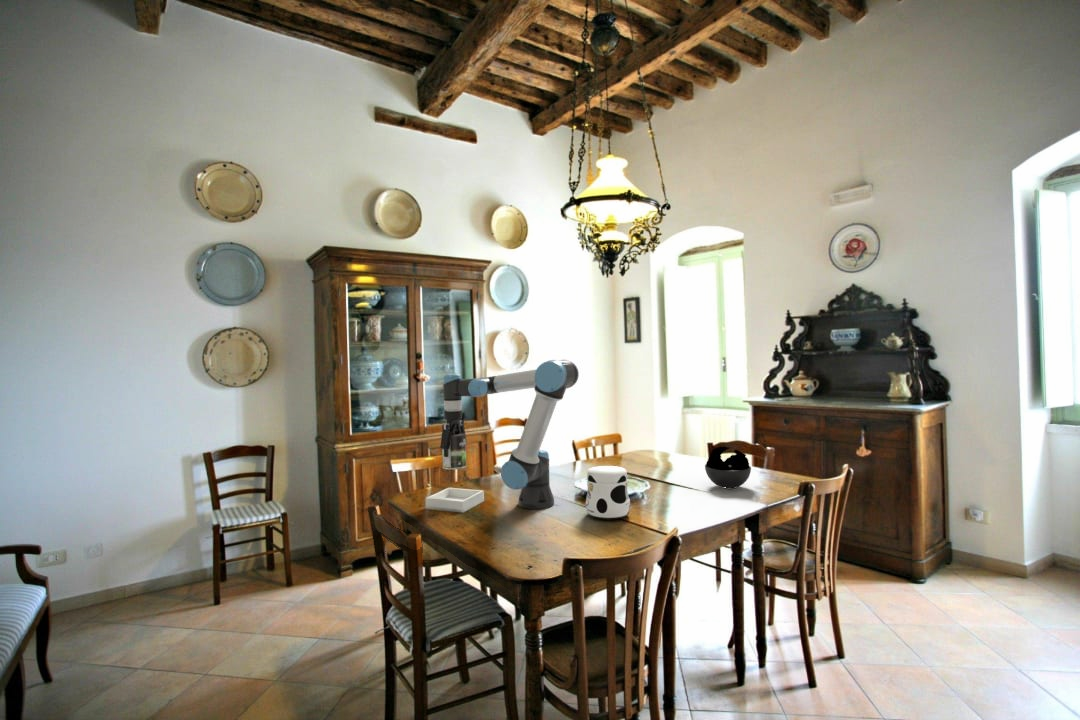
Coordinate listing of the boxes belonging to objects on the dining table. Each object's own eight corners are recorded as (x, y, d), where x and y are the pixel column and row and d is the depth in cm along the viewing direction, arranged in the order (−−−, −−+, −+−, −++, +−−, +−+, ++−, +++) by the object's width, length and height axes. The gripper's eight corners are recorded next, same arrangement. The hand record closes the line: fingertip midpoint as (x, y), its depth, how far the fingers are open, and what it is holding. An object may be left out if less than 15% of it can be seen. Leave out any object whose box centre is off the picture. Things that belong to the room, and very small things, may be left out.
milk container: (578, 513, 214) (577, 468, 214) (615, 507, 221) (614, 463, 221) (599, 525, 199) (598, 477, 198) (639, 518, 205) (638, 471, 205)
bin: (484, 500, 236) (484, 490, 236) (463, 512, 219) (462, 501, 219) (449, 497, 243) (448, 487, 242) (425, 508, 226) (425, 498, 226)
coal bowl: (702, 482, 258) (701, 443, 258) (745, 482, 255) (744, 443, 255) (709, 493, 238) (708, 451, 238) (756, 494, 235) (755, 451, 235)
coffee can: (469, 464, 235) (468, 432, 234) (461, 470, 224) (460, 436, 224) (447, 464, 237) (446, 432, 236) (438, 469, 227) (437, 436, 226)
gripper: (459, 407, 242) (460, 456, 242) (430, 413, 221) (432, 466, 222) (473, 407, 239) (475, 457, 239) (446, 413, 218) (447, 467, 219)
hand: (454, 461), depth 230 cm, fingers closed on coffee can, 10 cm apart
